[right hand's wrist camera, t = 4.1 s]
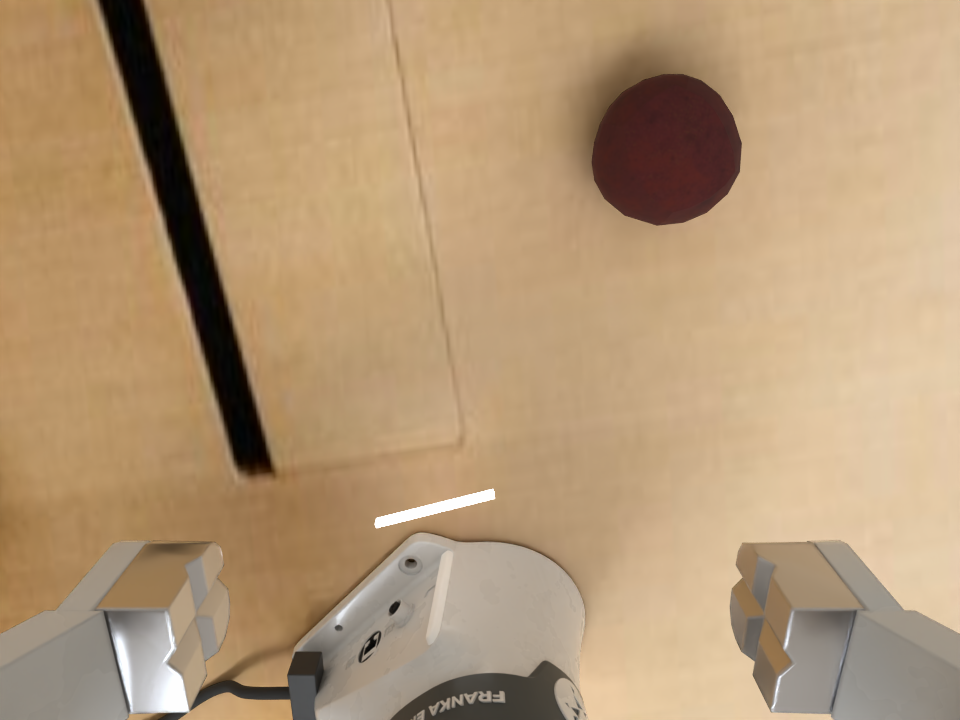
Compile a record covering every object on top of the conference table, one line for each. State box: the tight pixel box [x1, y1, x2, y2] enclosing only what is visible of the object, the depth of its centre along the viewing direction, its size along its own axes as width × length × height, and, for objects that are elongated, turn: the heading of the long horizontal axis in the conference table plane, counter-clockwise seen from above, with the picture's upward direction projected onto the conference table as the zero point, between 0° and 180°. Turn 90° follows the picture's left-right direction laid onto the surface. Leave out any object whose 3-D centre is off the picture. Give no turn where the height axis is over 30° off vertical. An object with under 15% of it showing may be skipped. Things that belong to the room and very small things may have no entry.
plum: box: [592, 74, 742, 225], centre depth 35 cm, size 7×8×7 cm
